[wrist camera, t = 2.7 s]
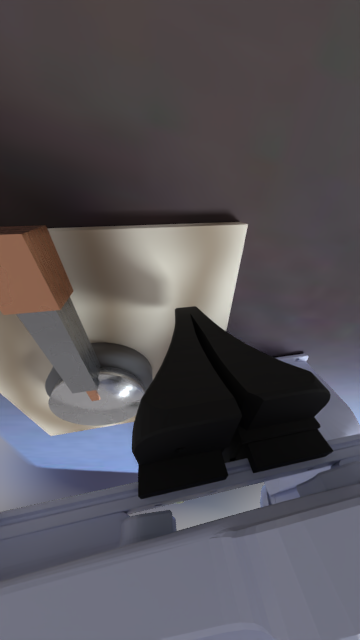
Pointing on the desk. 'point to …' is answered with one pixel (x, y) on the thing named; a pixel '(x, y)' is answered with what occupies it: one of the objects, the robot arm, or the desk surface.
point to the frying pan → (61, 331)
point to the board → (124, 302)
